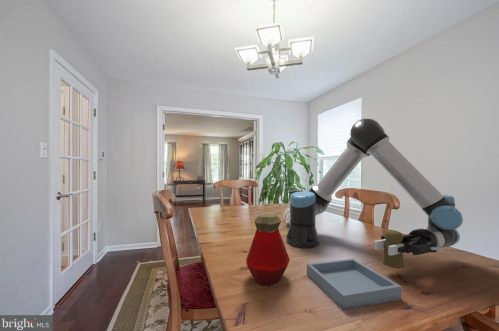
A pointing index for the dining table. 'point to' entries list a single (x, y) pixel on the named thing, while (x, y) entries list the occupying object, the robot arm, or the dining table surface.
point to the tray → (353, 283)
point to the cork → (391, 239)
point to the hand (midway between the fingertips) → (382, 248)
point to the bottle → (267, 251)
